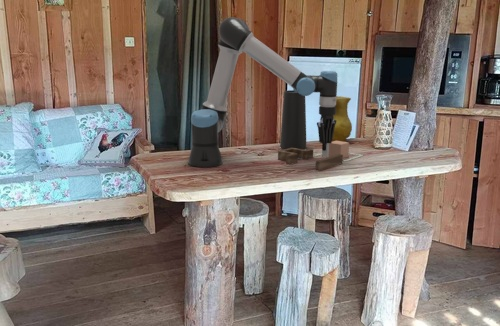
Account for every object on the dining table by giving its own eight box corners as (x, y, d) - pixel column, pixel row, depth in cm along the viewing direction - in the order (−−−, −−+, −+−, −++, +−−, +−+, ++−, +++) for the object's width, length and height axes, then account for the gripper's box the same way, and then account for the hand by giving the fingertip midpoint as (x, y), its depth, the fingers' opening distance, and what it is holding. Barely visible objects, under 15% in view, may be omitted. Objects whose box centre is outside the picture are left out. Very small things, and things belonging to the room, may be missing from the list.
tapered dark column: (293, 151, 243) (295, 93, 236) (274, 147, 253) (275, 91, 246) (311, 147, 252) (313, 91, 245) (292, 143, 262) (294, 89, 255)
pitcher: (311, 141, 267) (316, 95, 261) (332, 138, 279) (337, 94, 274) (336, 146, 255) (341, 98, 249) (357, 143, 267) (363, 98, 261)
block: (327, 157, 232) (328, 142, 230) (335, 154, 237) (336, 140, 235) (340, 159, 227) (340, 144, 226) (348, 156, 232) (349, 142, 231)
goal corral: (314, 156, 233) (314, 155, 233) (333, 150, 245) (333, 150, 245) (344, 162, 222) (345, 161, 222) (363, 156, 234) (363, 155, 234)
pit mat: (285, 159, 226) (285, 158, 226) (293, 157, 231) (293, 156, 231) (293, 161, 223) (293, 160, 223) (301, 159, 227) (301, 158, 227)
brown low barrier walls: (272, 160, 224) (272, 152, 223) (296, 154, 236) (296, 146, 236) (319, 170, 207) (319, 161, 206) (342, 163, 219) (342, 154, 219)
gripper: (326, 108, 212) (324, 160, 218) (342, 105, 222) (339, 155, 228) (312, 106, 217) (310, 158, 223) (328, 103, 227) (326, 153, 232)
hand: (325, 156), depth 225 cm, fingers closed
